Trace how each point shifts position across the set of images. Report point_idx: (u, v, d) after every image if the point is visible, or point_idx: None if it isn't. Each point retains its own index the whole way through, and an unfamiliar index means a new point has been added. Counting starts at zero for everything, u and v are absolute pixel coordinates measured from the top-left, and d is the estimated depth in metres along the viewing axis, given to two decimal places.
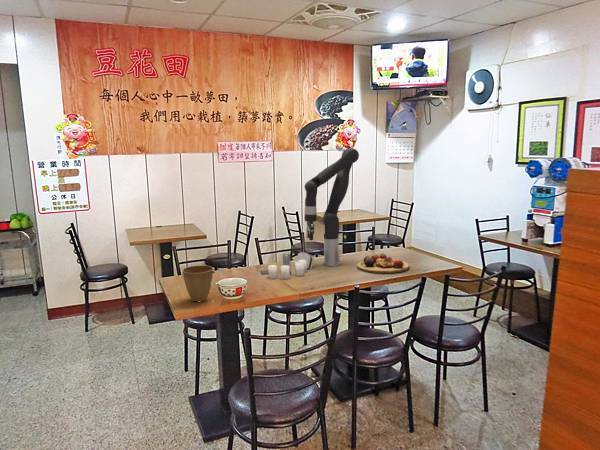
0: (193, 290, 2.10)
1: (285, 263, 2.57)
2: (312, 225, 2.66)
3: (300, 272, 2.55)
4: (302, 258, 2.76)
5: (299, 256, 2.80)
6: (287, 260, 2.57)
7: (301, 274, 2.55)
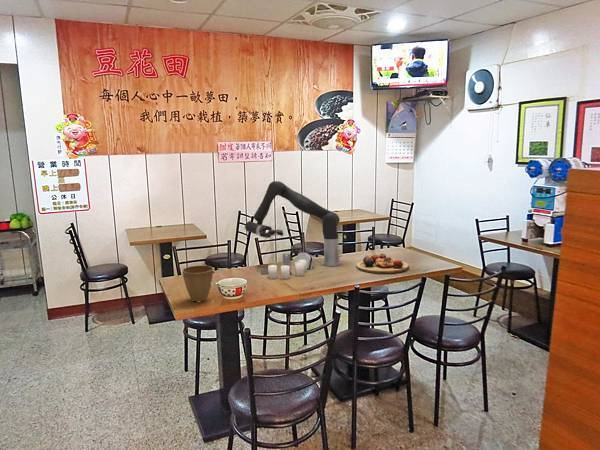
0: (193, 290, 2.10)
1: (285, 263, 2.57)
2: (259, 233, 2.70)
3: (300, 272, 2.55)
4: (302, 258, 2.76)
5: (299, 256, 2.80)
6: (287, 260, 2.57)
7: (301, 274, 2.55)
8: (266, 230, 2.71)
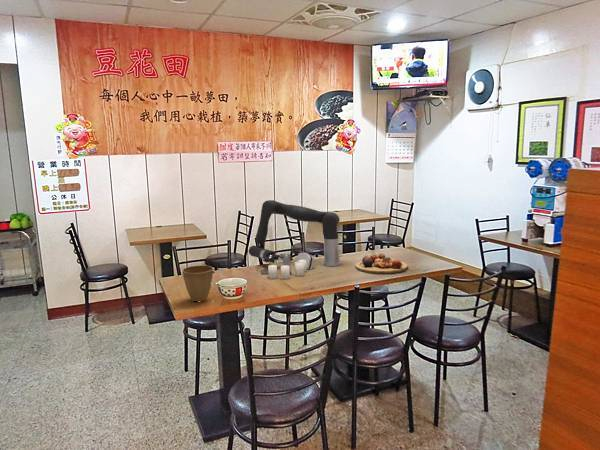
0: (193, 290, 2.10)
1: (285, 263, 2.57)
2: (263, 258, 2.70)
3: (300, 272, 2.55)
4: (302, 258, 2.75)
5: (299, 256, 2.79)
6: (287, 260, 2.57)
7: (301, 274, 2.55)
8: (270, 255, 2.71)
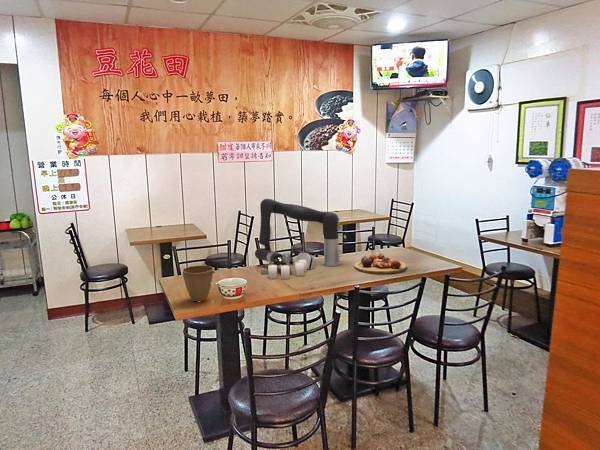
0: (193, 290, 2.10)
1: None
2: (271, 262, 2.61)
3: (300, 272, 2.55)
4: (303, 258, 2.75)
5: (300, 256, 2.79)
6: (287, 260, 2.57)
7: (301, 274, 2.55)
8: (278, 258, 2.63)
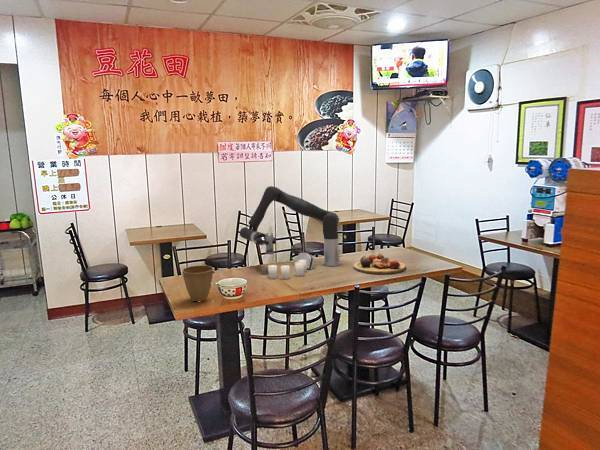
0: (193, 290, 2.10)
1: (268, 242, 2.59)
2: (254, 241, 2.63)
3: (300, 272, 2.55)
4: (303, 258, 2.75)
5: (300, 256, 2.79)
6: (270, 239, 2.59)
7: (301, 274, 2.55)
8: (261, 237, 2.65)
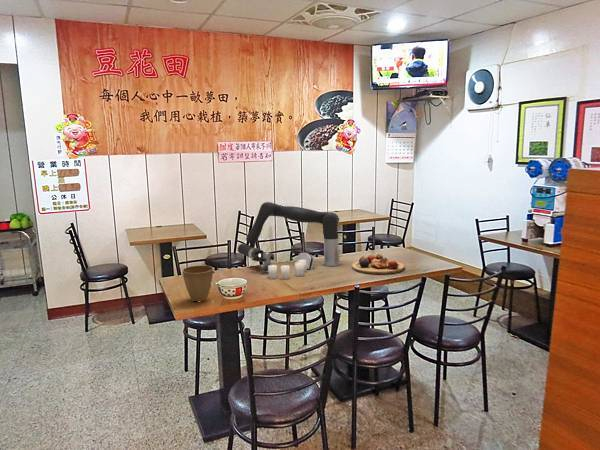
0: (193, 290, 2.10)
1: (265, 261, 2.62)
2: (251, 257, 2.66)
3: (300, 272, 2.55)
4: (303, 258, 2.75)
5: (300, 256, 2.79)
6: (267, 258, 2.61)
7: (301, 274, 2.55)
8: (258, 254, 2.68)
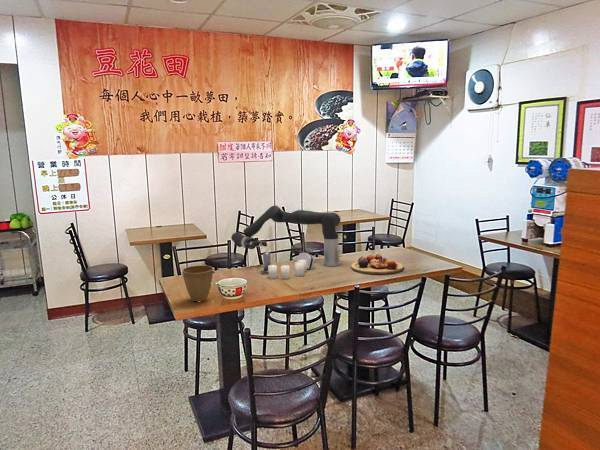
0: (193, 290, 2.10)
1: (265, 261, 2.62)
2: (243, 245, 2.77)
3: (300, 272, 2.55)
4: (303, 258, 2.75)
5: (300, 256, 2.79)
6: (267, 258, 2.62)
7: (301, 274, 2.55)
8: (250, 242, 2.78)
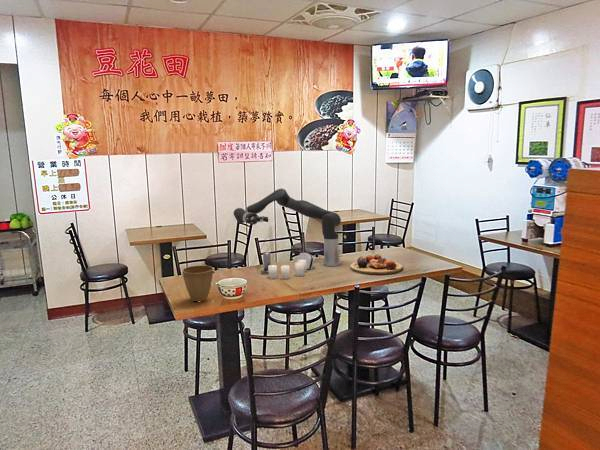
0: (193, 290, 2.10)
1: (265, 261, 2.62)
2: (245, 220, 2.77)
3: (300, 272, 2.55)
4: (303, 258, 2.75)
5: (300, 256, 2.79)
6: (267, 258, 2.62)
7: (301, 274, 2.55)
8: (252, 217, 2.78)
